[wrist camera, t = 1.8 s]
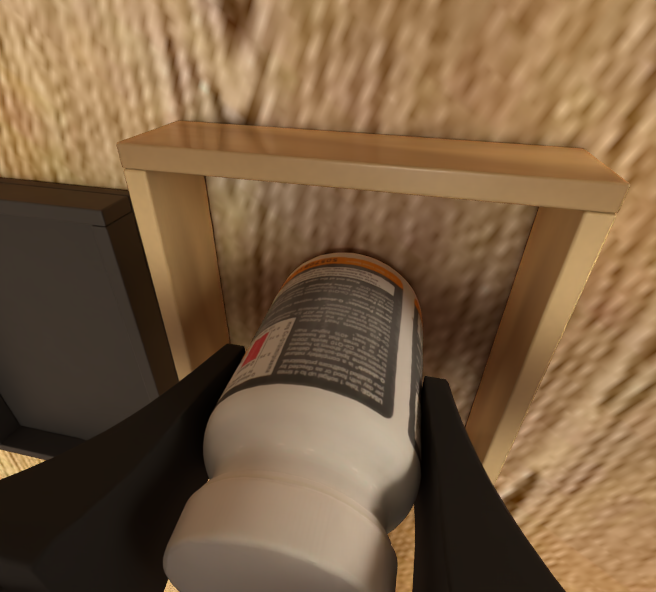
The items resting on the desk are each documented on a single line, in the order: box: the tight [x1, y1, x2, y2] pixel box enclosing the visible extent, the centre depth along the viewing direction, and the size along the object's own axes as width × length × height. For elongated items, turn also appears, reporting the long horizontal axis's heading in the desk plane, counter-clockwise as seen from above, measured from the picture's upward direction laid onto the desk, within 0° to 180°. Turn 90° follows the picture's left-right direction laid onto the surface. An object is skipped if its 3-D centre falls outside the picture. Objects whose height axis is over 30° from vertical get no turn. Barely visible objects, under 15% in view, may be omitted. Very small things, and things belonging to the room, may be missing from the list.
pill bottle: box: [163, 253, 423, 592], centre depth 12 cm, size 6×6×10 cm
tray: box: [0, 178, 179, 460], centre depth 20 cm, size 17×13×2 cm
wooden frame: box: [117, 121, 630, 486], centre depth 14 cm, size 13×12×3 cm
